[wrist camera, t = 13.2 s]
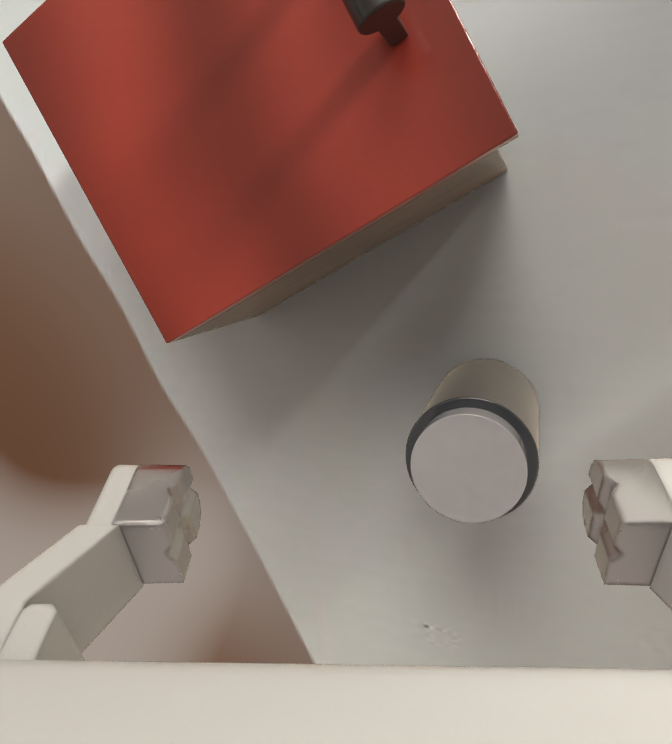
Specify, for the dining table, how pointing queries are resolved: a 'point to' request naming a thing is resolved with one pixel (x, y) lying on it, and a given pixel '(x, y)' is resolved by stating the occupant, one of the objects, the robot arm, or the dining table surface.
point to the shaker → (476, 443)
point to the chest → (363, 241)
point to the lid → (252, 129)
